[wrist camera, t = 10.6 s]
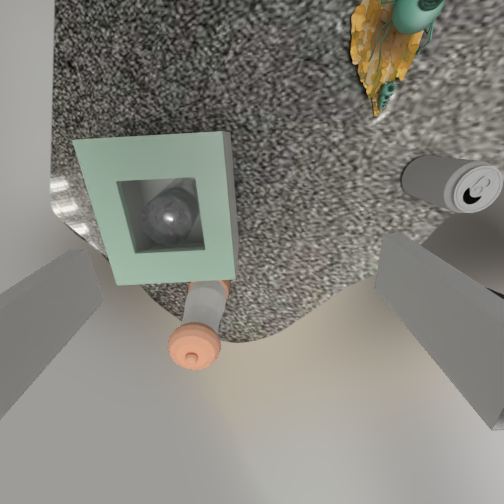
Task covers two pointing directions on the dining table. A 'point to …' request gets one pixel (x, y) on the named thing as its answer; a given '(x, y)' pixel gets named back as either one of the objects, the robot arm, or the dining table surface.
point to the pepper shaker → (200, 325)
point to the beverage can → (453, 183)
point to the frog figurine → (388, 42)
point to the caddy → (151, 184)
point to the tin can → (172, 212)
